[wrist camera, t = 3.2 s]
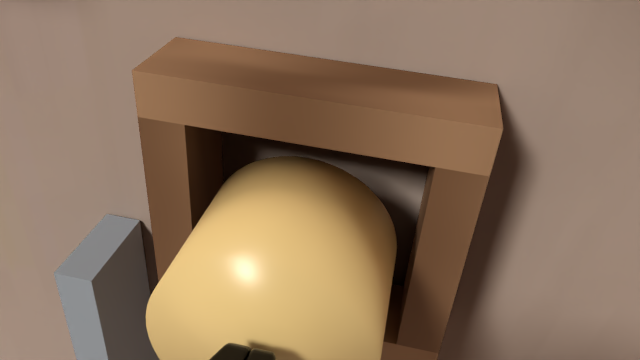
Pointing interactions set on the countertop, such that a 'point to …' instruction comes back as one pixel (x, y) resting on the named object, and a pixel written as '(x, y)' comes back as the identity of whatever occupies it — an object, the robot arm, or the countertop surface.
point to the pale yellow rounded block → (280, 268)
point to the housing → (329, 133)
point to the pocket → (107, 293)
